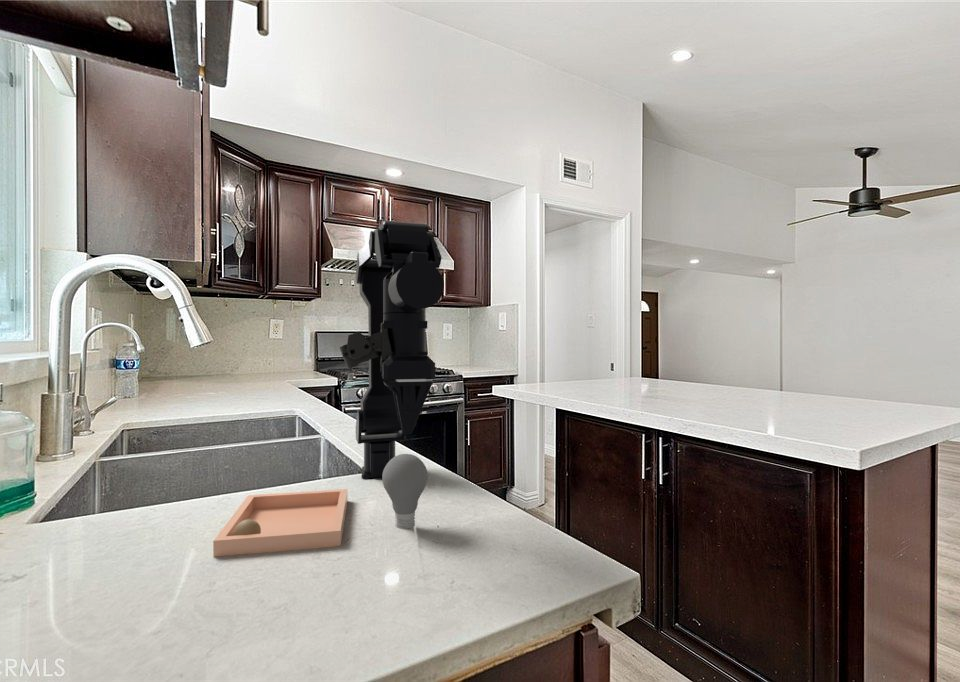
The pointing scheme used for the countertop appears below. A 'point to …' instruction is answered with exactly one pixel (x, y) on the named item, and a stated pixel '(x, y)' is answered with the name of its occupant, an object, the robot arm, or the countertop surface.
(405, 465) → the light bulb
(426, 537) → the countertop surface
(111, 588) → the countertop surface
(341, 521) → the dish
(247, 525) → the cork ball
